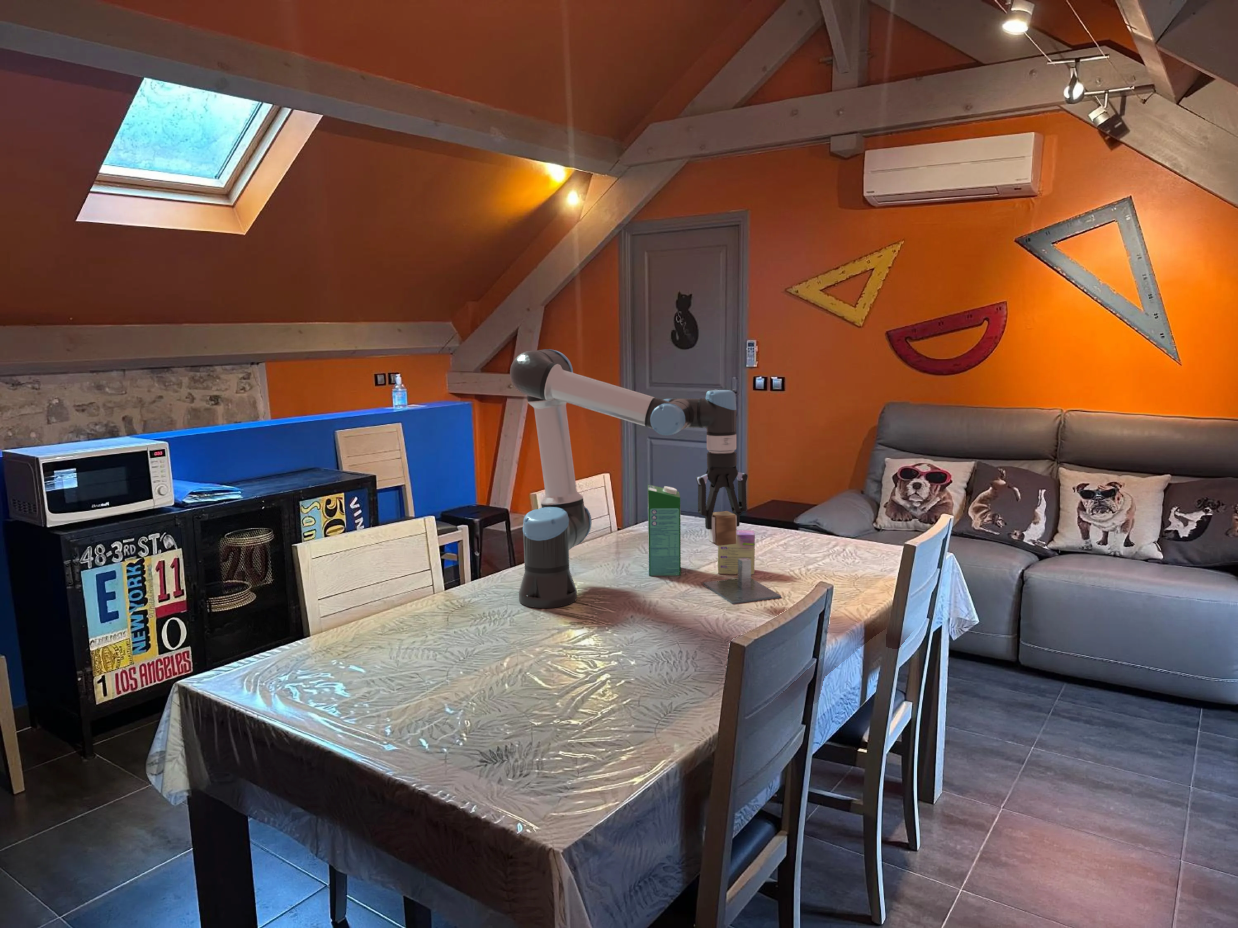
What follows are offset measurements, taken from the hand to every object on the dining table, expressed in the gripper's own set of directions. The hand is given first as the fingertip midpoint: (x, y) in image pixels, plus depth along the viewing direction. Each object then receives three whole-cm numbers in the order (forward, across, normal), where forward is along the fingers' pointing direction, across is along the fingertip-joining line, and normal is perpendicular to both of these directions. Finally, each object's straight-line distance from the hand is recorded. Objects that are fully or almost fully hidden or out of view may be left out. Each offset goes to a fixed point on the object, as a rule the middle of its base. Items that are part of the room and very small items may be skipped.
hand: (722, 539), depth 222 cm
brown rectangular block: (+1, 0, 0) cm, 1 cm away
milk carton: (+15, -6, +28) cm, 33 cm away
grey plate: (+15, +7, +4) cm, 17 cm away
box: (+16, +13, +21) cm, 29 cm away
